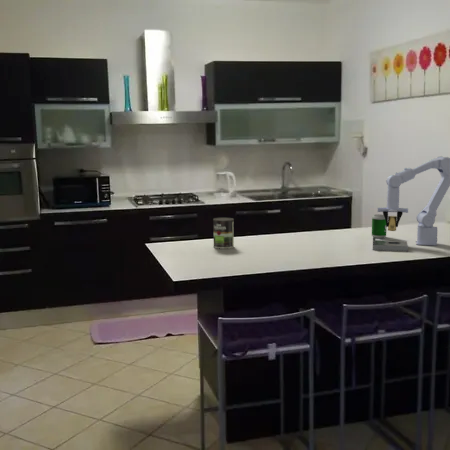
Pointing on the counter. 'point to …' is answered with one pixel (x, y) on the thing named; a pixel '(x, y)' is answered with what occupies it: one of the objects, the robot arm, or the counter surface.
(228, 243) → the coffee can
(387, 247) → the jig
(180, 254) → the counter surface
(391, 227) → the bushing
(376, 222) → the soda can
